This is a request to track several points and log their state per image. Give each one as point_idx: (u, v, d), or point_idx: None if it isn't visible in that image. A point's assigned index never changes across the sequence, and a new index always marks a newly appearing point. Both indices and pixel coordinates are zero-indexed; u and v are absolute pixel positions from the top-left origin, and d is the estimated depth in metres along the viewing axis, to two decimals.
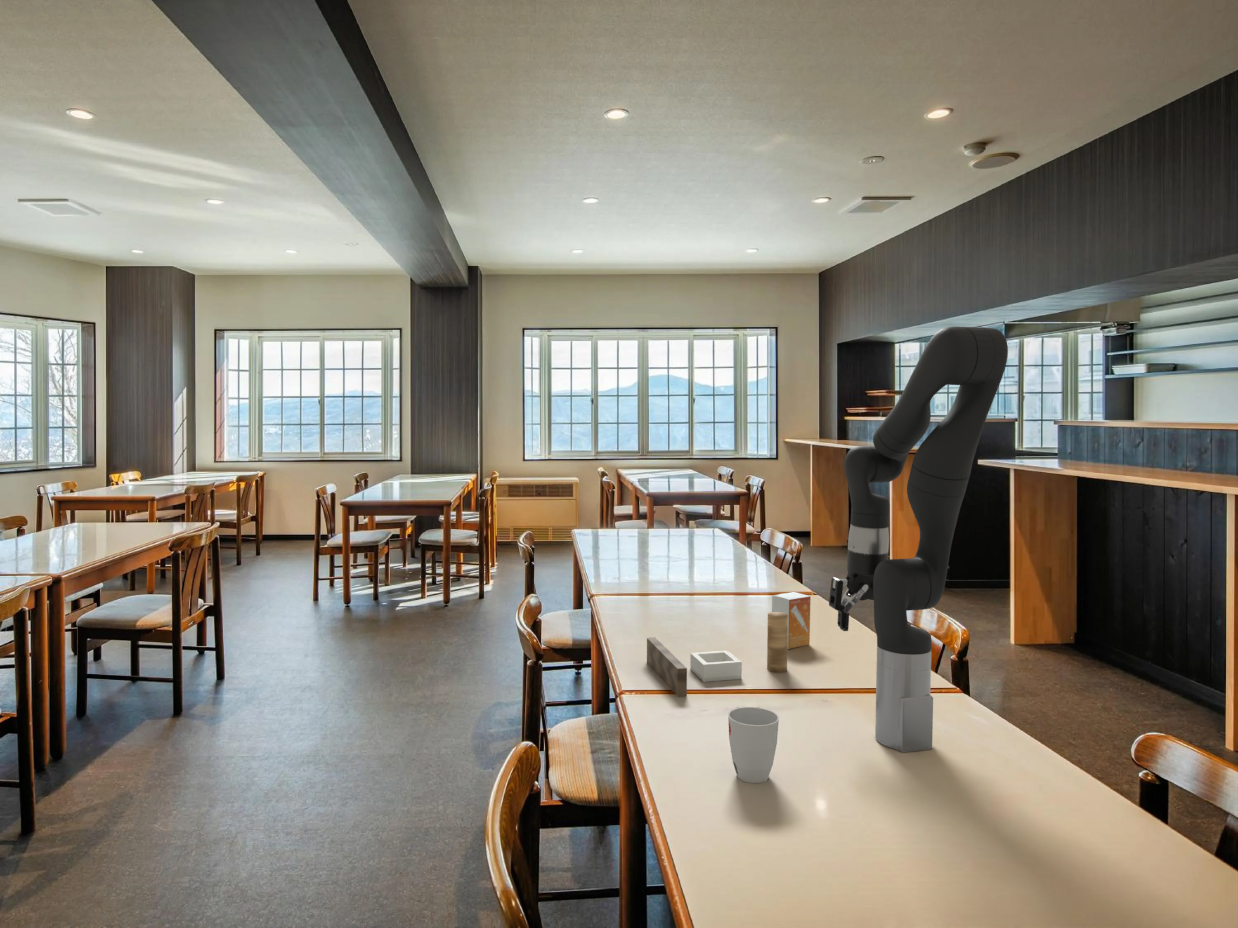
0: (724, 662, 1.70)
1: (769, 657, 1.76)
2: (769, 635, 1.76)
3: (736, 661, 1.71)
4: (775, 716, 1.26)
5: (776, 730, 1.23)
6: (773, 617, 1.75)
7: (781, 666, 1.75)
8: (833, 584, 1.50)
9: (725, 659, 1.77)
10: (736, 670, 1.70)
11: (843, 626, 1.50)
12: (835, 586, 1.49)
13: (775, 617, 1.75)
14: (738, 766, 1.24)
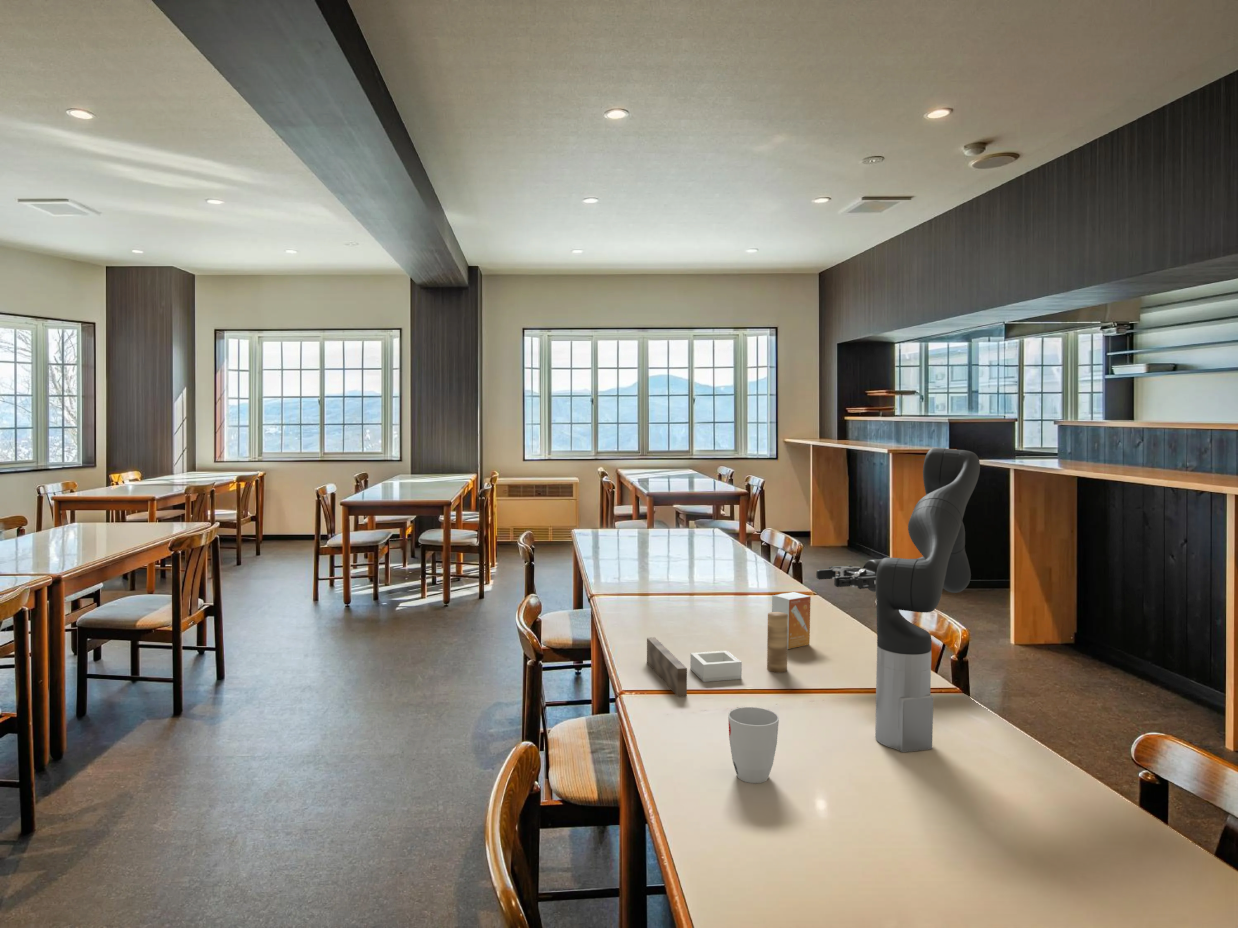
0: (724, 662, 1.70)
1: (769, 657, 1.76)
2: (769, 635, 1.76)
3: (736, 661, 1.71)
4: (775, 716, 1.26)
5: (776, 730, 1.23)
6: (773, 617, 1.75)
7: (781, 666, 1.75)
8: None
9: (725, 659, 1.77)
10: (736, 670, 1.70)
11: None
12: None
13: (775, 617, 1.75)
14: (738, 766, 1.24)
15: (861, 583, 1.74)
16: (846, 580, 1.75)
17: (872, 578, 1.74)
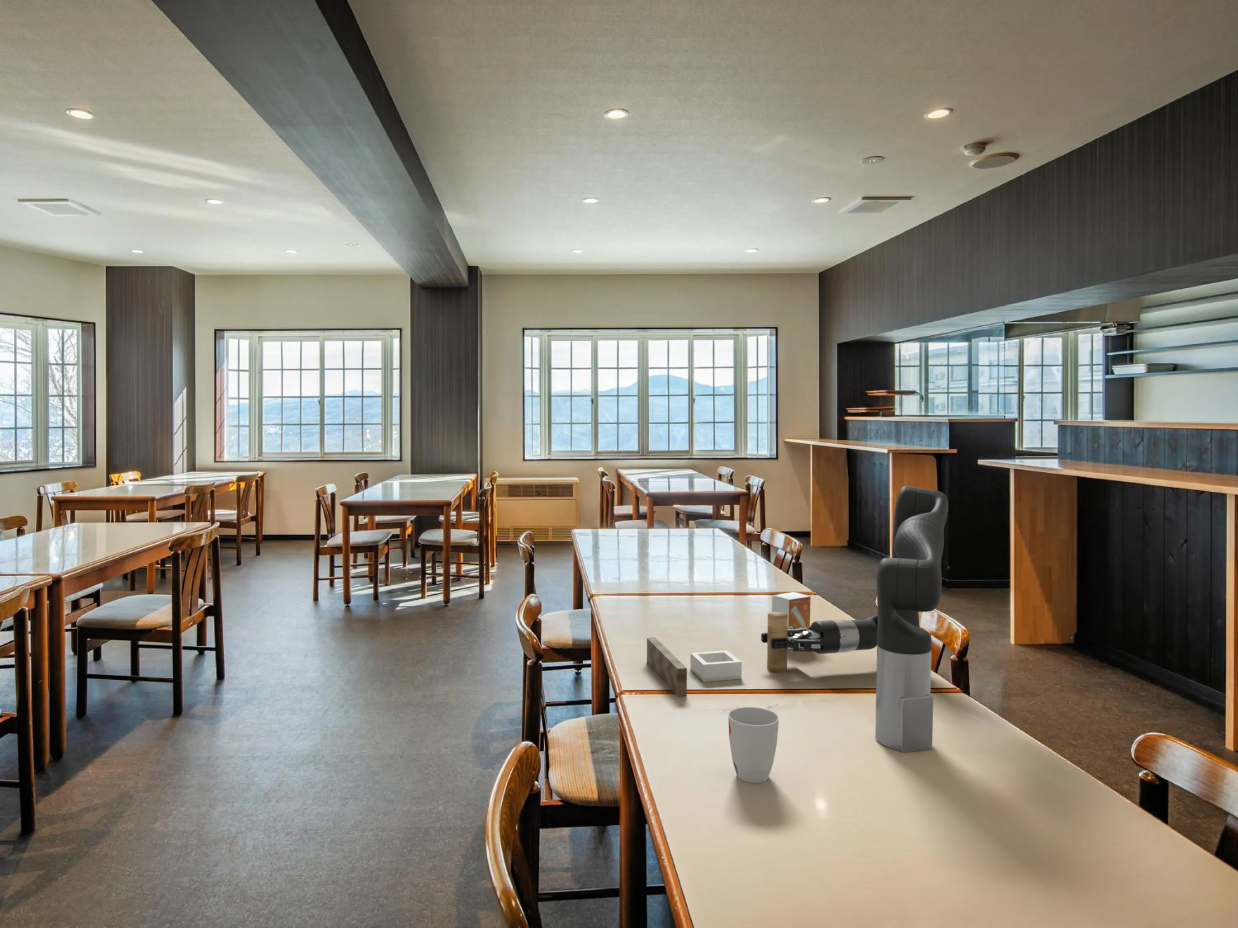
0: (724, 662, 1.70)
1: (769, 657, 1.76)
2: (769, 635, 1.76)
3: (736, 661, 1.71)
4: (775, 716, 1.26)
5: (776, 730, 1.23)
6: (773, 617, 1.75)
7: (781, 666, 1.75)
8: None
9: (725, 659, 1.77)
10: (736, 670, 1.70)
11: None
12: None
13: (775, 617, 1.75)
14: (738, 766, 1.24)
15: (796, 646, 1.72)
16: (782, 642, 1.73)
17: (808, 642, 1.72)
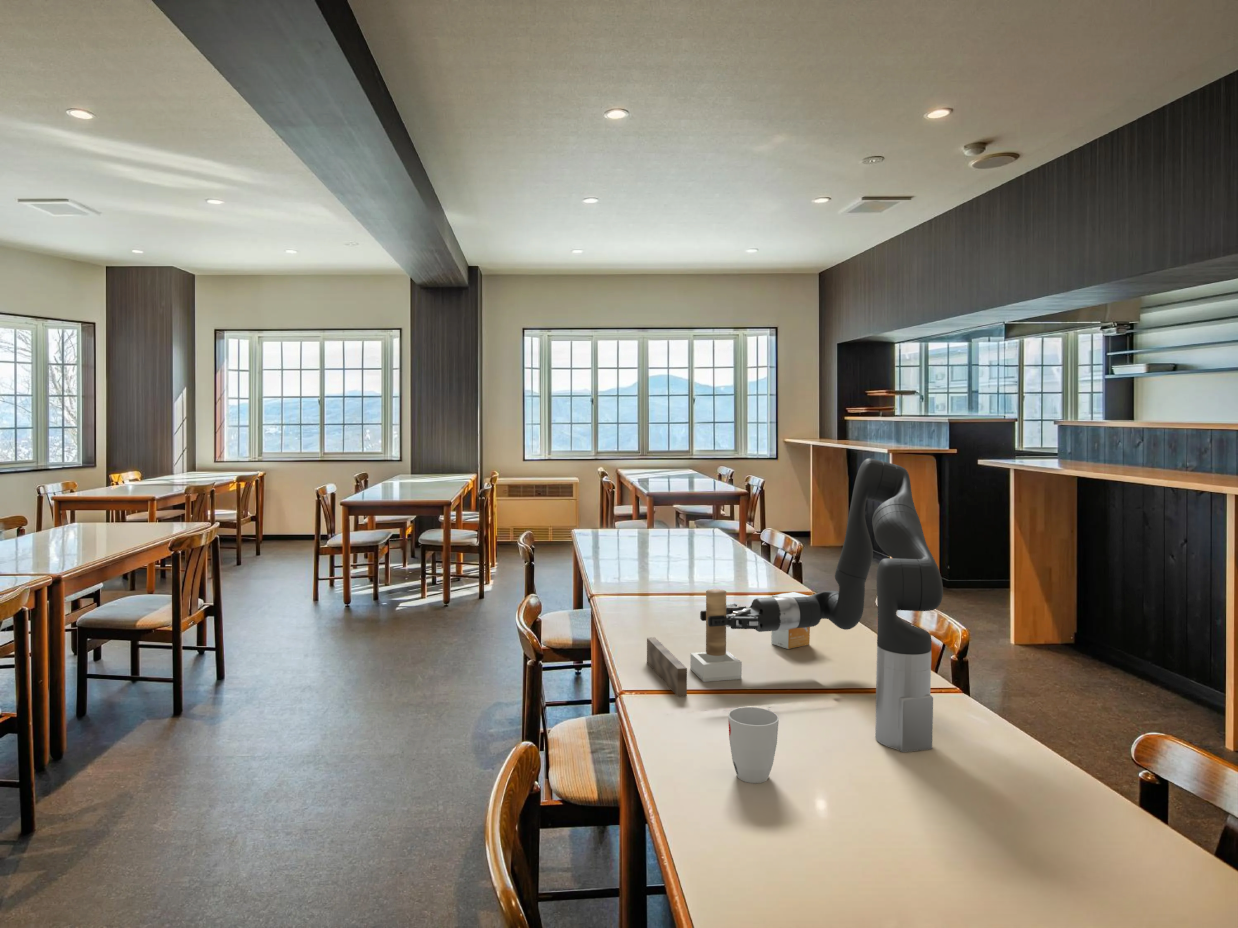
0: (724, 662, 1.70)
1: (707, 635, 1.73)
2: (707, 613, 1.73)
3: (736, 661, 1.71)
4: (775, 716, 1.26)
5: (776, 730, 1.23)
6: (711, 594, 1.71)
7: (719, 644, 1.72)
8: None
9: (725, 659, 1.77)
10: (736, 670, 1.70)
11: None
12: None
13: (713, 594, 1.71)
14: (738, 766, 1.24)
15: (734, 623, 1.69)
16: (719, 620, 1.70)
17: (746, 619, 1.69)
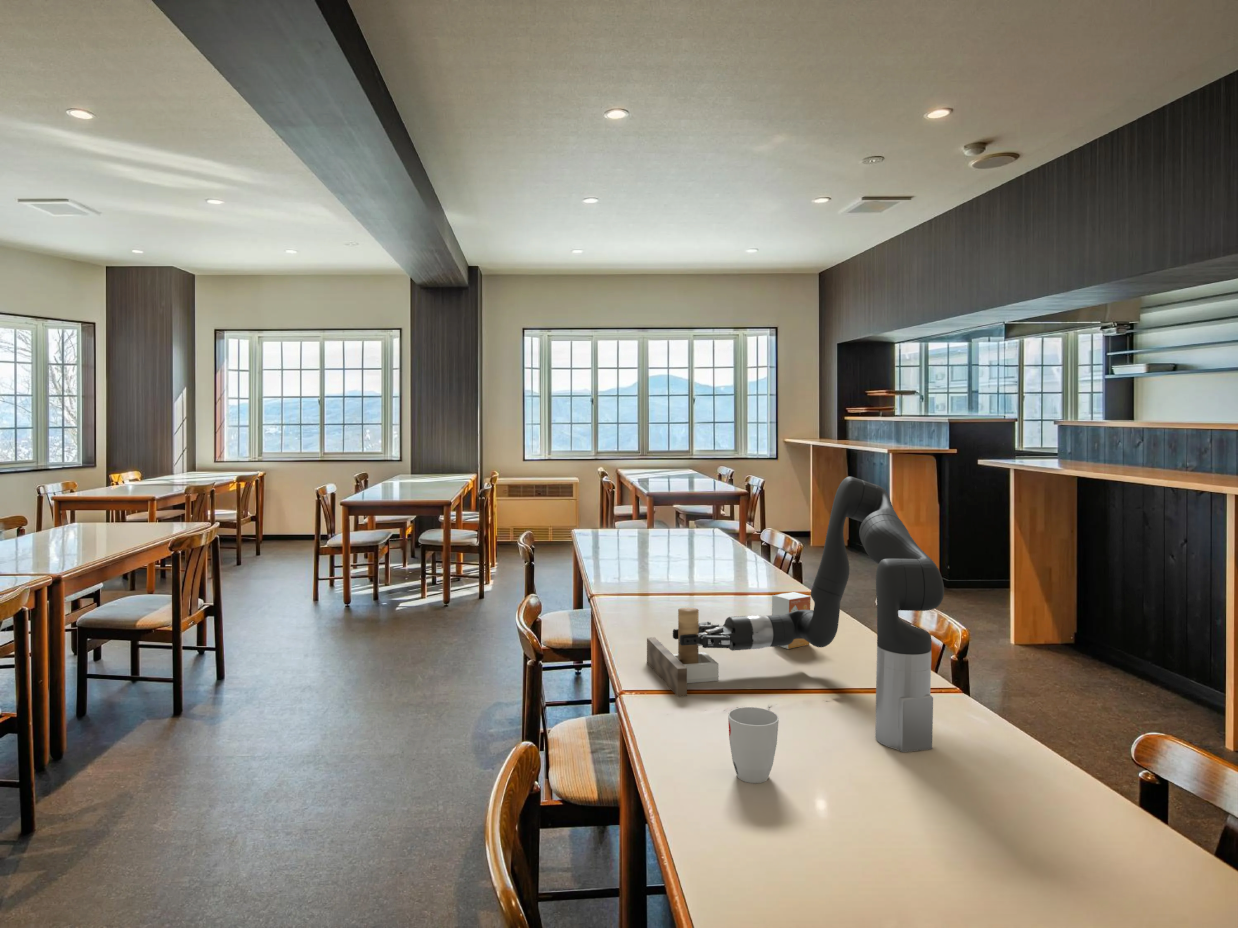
0: (701, 663, 1.69)
1: (679, 654, 1.71)
2: (679, 631, 1.71)
3: (713, 663, 1.70)
4: (775, 716, 1.26)
5: (776, 730, 1.23)
6: (683, 613, 1.70)
7: (691, 663, 1.70)
8: None
9: (703, 661, 1.76)
10: (712, 672, 1.69)
11: None
12: None
13: (685, 613, 1.70)
14: (738, 766, 1.24)
15: (705, 642, 1.67)
16: (691, 638, 1.69)
17: (717, 638, 1.67)
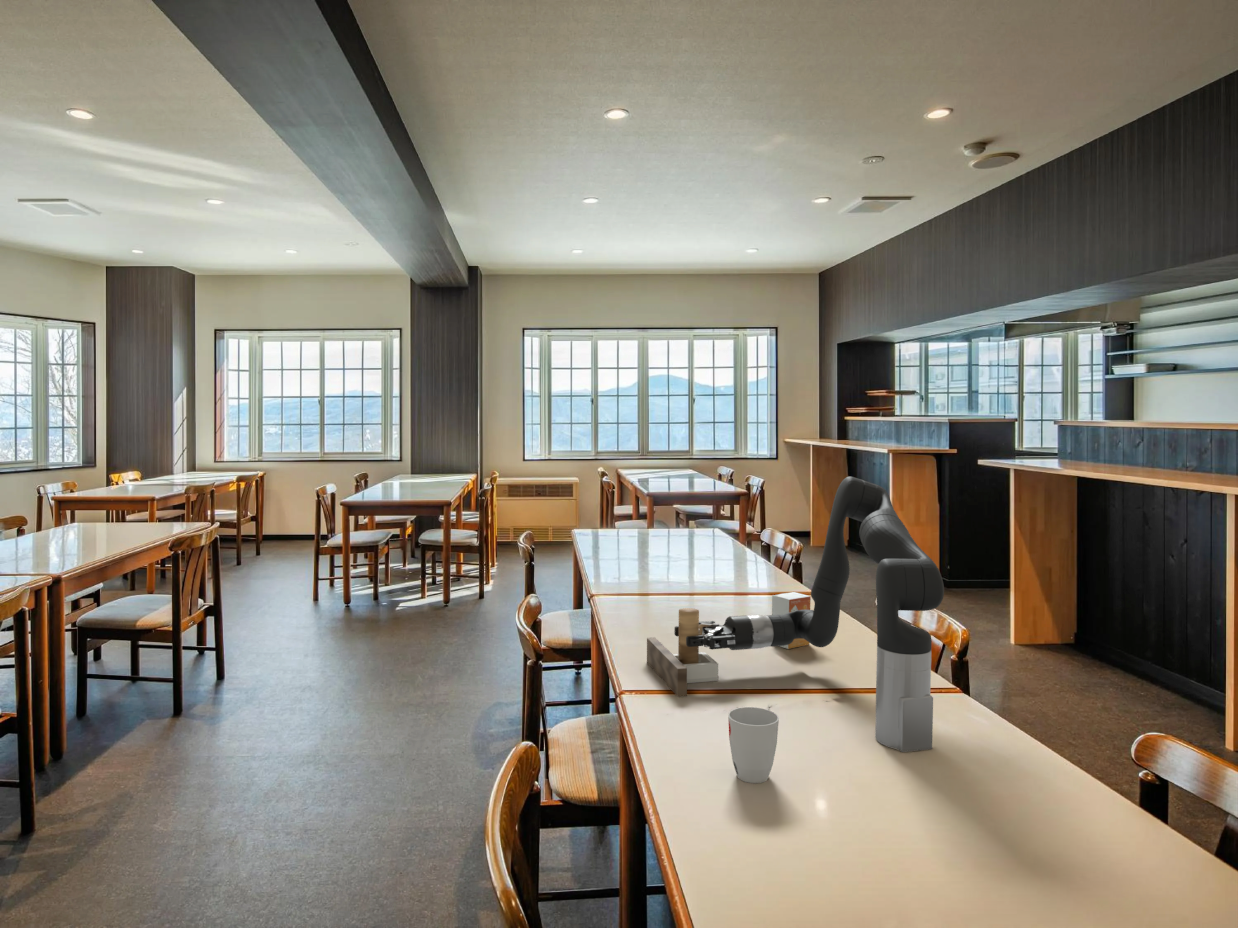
0: (701, 663, 1.69)
1: (679, 654, 1.71)
2: (679, 632, 1.71)
3: (713, 663, 1.70)
4: (775, 716, 1.26)
5: (776, 730, 1.23)
6: (683, 613, 1.70)
7: None
8: None
9: (702, 661, 1.76)
10: (712, 672, 1.69)
11: None
12: None
13: (685, 613, 1.70)
14: (738, 766, 1.24)
15: (712, 643, 1.66)
16: (698, 640, 1.67)
17: (724, 638, 1.67)
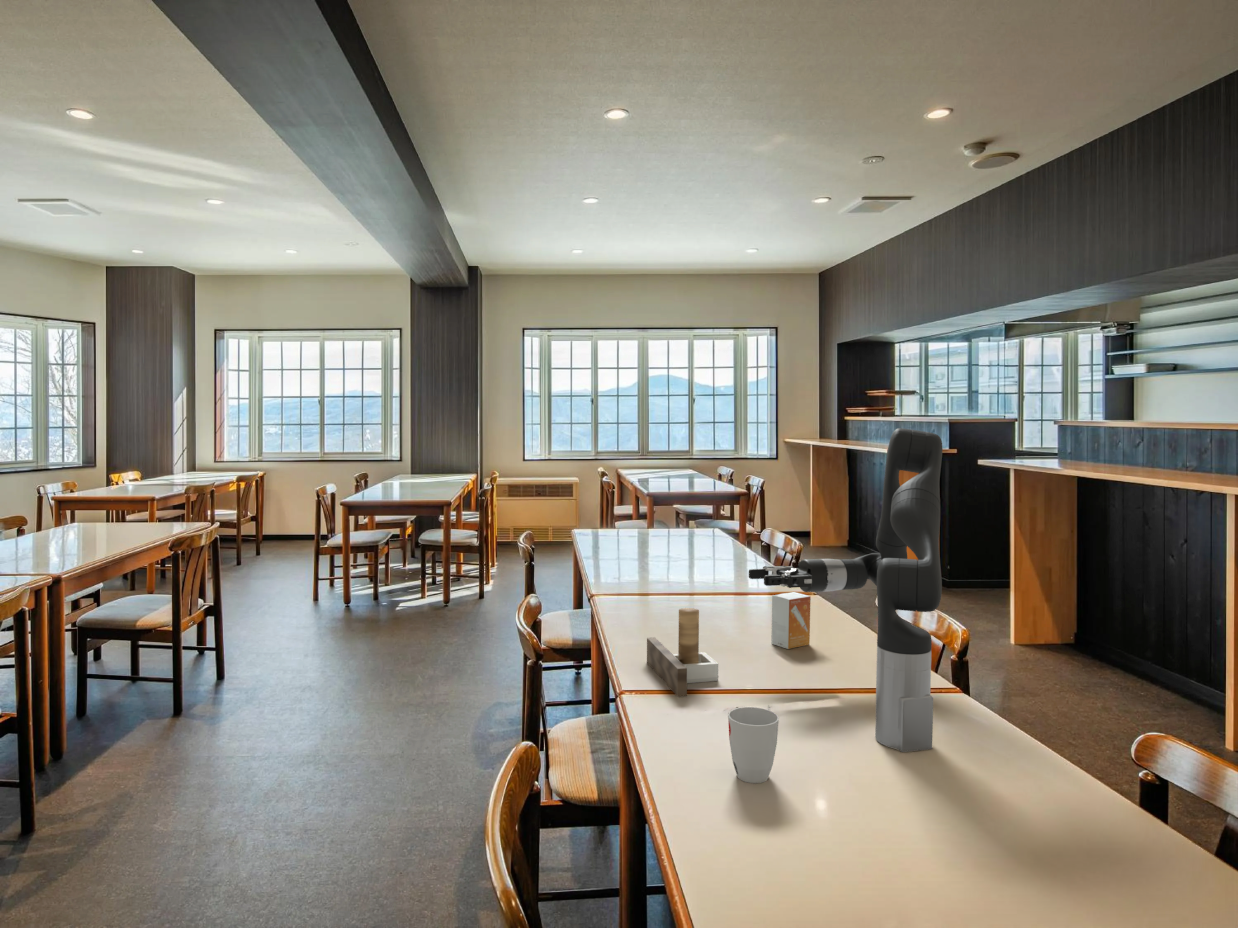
0: (701, 663, 1.69)
1: (680, 654, 1.71)
2: (680, 632, 1.71)
3: (713, 663, 1.70)
4: (775, 716, 1.26)
5: (776, 730, 1.23)
6: (683, 613, 1.70)
7: None
8: None
9: (702, 661, 1.76)
10: (712, 672, 1.69)
11: None
12: None
13: (685, 613, 1.70)
14: (738, 766, 1.24)
15: (790, 582, 1.69)
16: (776, 579, 1.70)
17: (802, 577, 1.70)
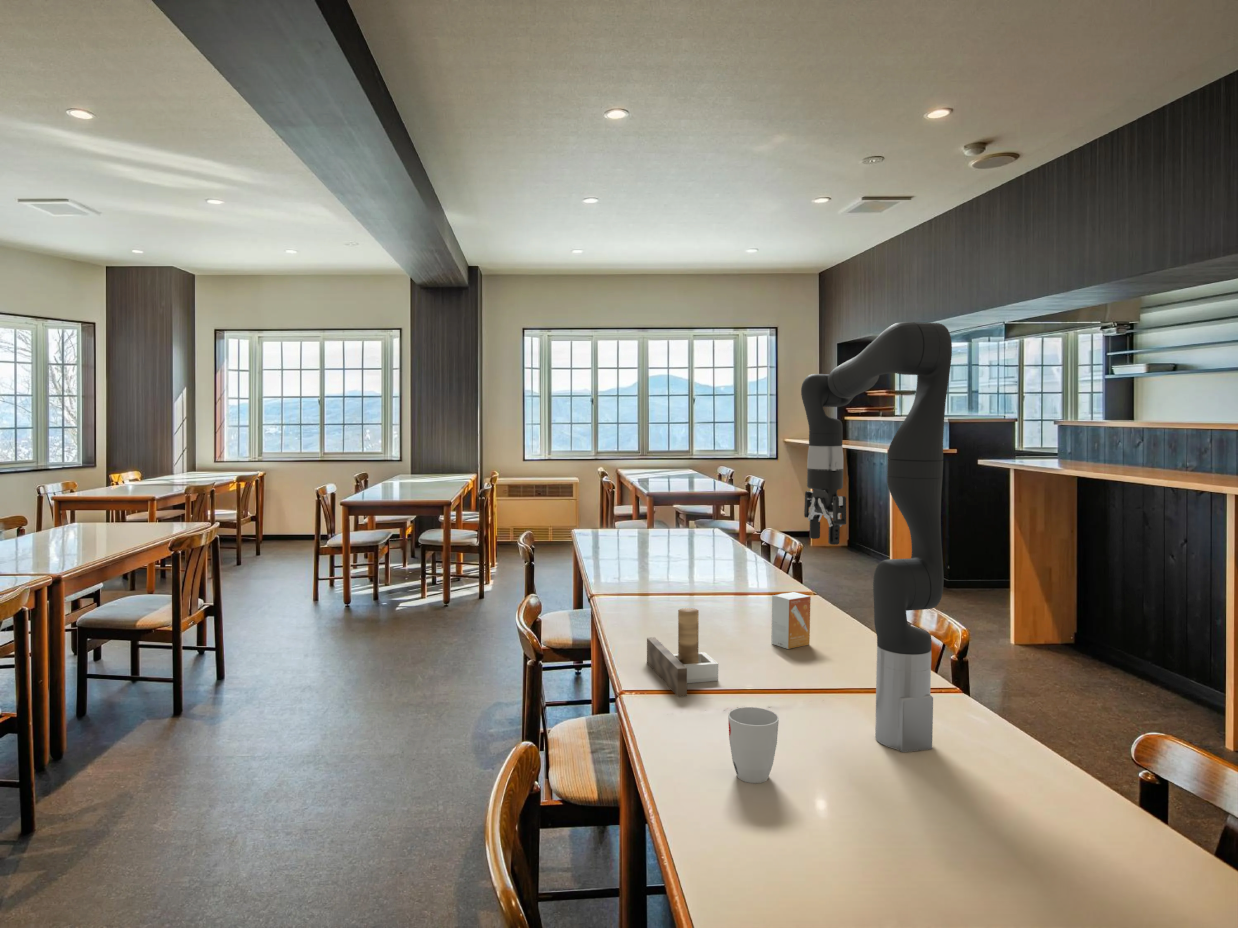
0: (701, 663, 1.69)
1: (679, 655, 1.71)
2: (679, 632, 1.71)
3: (713, 663, 1.70)
4: (775, 716, 1.26)
5: (776, 730, 1.23)
6: (683, 613, 1.70)
7: None
8: None
9: (702, 661, 1.76)
10: (712, 672, 1.69)
11: None
12: None
13: (685, 613, 1.70)
14: (738, 766, 1.24)
15: (841, 522, 1.60)
16: (834, 534, 1.62)
17: (836, 509, 1.60)
